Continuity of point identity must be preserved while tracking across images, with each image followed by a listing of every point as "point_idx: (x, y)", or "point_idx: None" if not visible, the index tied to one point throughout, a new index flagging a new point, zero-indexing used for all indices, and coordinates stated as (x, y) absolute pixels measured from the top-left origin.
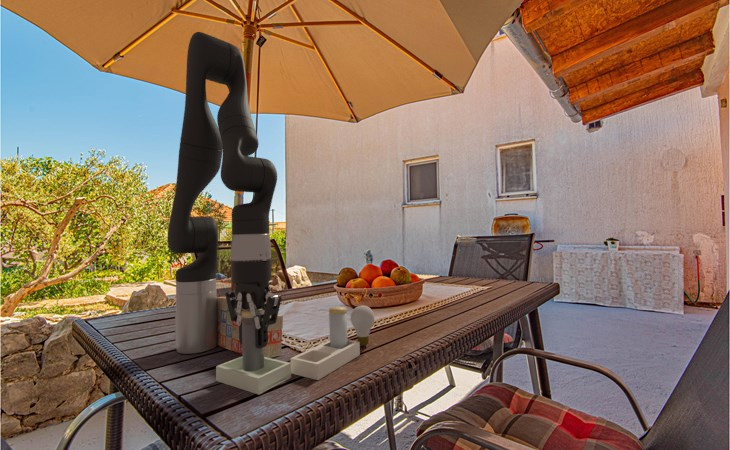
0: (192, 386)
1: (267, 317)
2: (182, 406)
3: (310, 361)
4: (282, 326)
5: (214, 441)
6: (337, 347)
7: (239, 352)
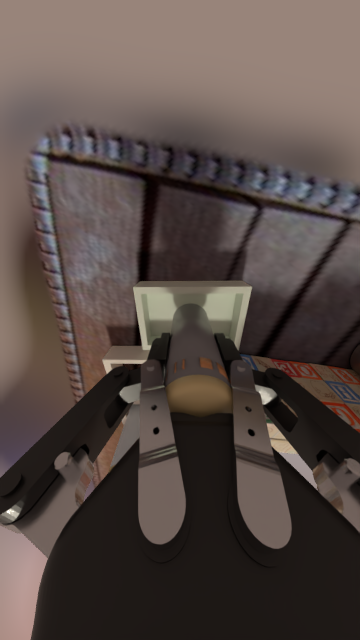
0: (266, 245)
1: (90, 392)
2: (217, 180)
3: (120, 362)
4: None
5: (57, 131)
6: (133, 406)
7: (284, 361)
